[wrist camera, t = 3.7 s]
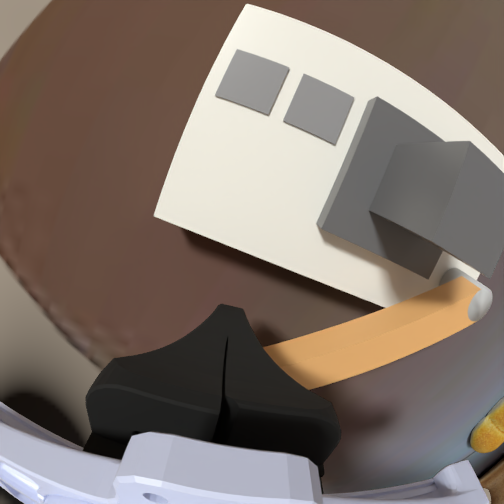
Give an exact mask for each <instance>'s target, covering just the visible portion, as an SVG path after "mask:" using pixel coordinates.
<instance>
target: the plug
mask: <svg viewBox="0 0 504 504" xmlns="http://www.w3.org/2000/svg"><path fill="white" fill-rule="evenodd" d="M316 224H317V225H318V226H319V227H320V228H321V229H322V230H325V231H327V232H329V233H331V234H334V235H336V236H338V237H340V238H343V239H345V240H347V241H349V242H351V243H353V244H356V245H358V246H360V247H362V248H364V249H366V250H368V251H371V252H373V253H375V254H377V255H379V256H381V257H383V258H385V259H387V260H389V261H392V262H394V263H396V264H398V265H400V266H402V267H404V268H406V269H408V270H410V271H412V272H414V273H416V274H418V275H420V276H422V277H424V278H426V279H428V280H429V278H430V276H431V274H432V272H433V270H434V268H435V266H436V264H437V262H438V260H439V258H440V256H441V254H442V252H443V251H444V252H446V253H448V254H449V255H451V256H453V257H455V258H456V259H458V260H460V261H461V262H463V263H465V264H466V265H468V266H470V267H471V268H473V269H475V270H476V271H478V272H480V273H481V274H483V275H484V276H486V277H488V278H489V279H490V278H491V276H492V274H493V271H494V269H495V267H496V265H497V263H498V261H499V258H500V256H501V254H502V251H503V249H504V173H503V172H502V171H501V170H500V169H499V168H498V167H497V166H496V165H495V164H494V163H493V162H492V161H491V160H490V159H489V158H488V157H487V156H486V155H485V154H484V153H483V152H482V151H481V150H480V149H478V148H477V147H476V146H475V145H474V144H473V143H472V142H471V141H448V142H445V141H444V140H442V139H441V138H440V137H438V136H437V135H436V134H434V133H433V132H432V131H430V130H429V129H427V128H426V127H425V126H423V125H422V124H420V123H419V122H417V121H416V120H414V119H413V118H412V117H410V116H408V115H407V114H405V113H404V112H402V111H401V110H399V109H398V108H396V107H394V106H393V105H391V104H390V103H388V102H386V101H385V100H383V99H381V98H379V97H378V96H377V97H375V98H373V99H371V100H369V101H368V102H367V105H366V107H365V110H364V112H363V115H362V117H361V120H360V122H359V125H358V127H357V130H356V132H355V135H354V137H353V140H352V142H351V144H350V147H349V149H348V152H347V154H346V156H345V159H344V161H343V163H342V166H341V168H340V170H339V173H338V175H337V177H336V180H335V182H334V184H333V187H332V189H331V191H330V193H329V196H328V198H327V200H326V202H325V205H324V207H323V209H322V211H321V213H320V216H319V218H318V220H317V222H316Z"/></svg>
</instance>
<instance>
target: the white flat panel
mask: <svg viewBox="0 0 504 504" xmlns="http://www.w3.org/2000/svg"><path fill="white" fill-rule="evenodd" d="M377 96H378V97H379V98H381V99H383V100H385V101H386V102H388V103H390V104H391V105H393V106H394V107H396V108H398V109H399V110H401V111H402V112H404V113H405V114H407V115H408V116H410V117H412V118H413V119H414V120H416V121H417V122H419V123H420V124H422V125H423V126H425V127H426V128H427V129H429V130H430V131H432V132H433V133H434V134H436V135H437V136H438V137H440V138H441V139H442V140H444V141H445V142H448V141H471V142H472V143H473V144H474V145H475V146H476V147H477V148H478V149H480V150H481V151H482V152H483V153H484V154H485V155H486V156H487V157H488V158H489V159H490V160H491V161H492V162H493V163H494V164H495V165H496V166H497V167H498V168H499V169H500V170H501V171H502V172H503V173H504V156H503V155H502V154H501V153H500V151H499V150H498V149H497V148H496V147H495V146H494V145H493V144H492V143H491V142H490V141H489V140H487V139H486V138H485V137H484V136H483V135H482V134H481V133H480V132H479V131H478V130H477V129H476V128H475V127H473V126H472V125H471V124H470V123H469V122H468V121H467V120H466V119H464V118H463V117H462V116H461V115H460V114H458V113H457V112H456V111H455V110H454V109H452V108H451V107H450V106H449V105H447V104H446V103H445V102H443V101H442V100H441V99H440V98H438V97H437V96H436V95H434V94H433V93H431V92H430V91H429V90H427V89H426V88H425V87H423V86H422V85H420V84H419V83H417V82H416V81H414V80H413V79H411V78H410V77H408V76H407V75H405V74H404V73H402V72H401V71H399V70H397V69H396V68H394V67H393V66H391V65H389V64H388V63H386V62H384V61H383V60H381V59H379V58H377V57H376V56H374V55H372V54H370V53H368V52H366V51H365V50H363V49H361V48H359V47H357V46H355V45H353V44H351V43H349V42H347V41H345V40H343V39H341V38H339V37H337V36H334V35H332V34H330V33H328V32H325V31H323V30H321V29H318V28H316V27H314V26H311V25H309V24H306V23H304V22H301V21H299V20H296V19H293V18H290V17H288V16H285V15H282V14H279V13H276V12H273V11H270V10H267V9H263V8H260V7H257V6H253V5H249V4H246V5H245V7H244V9H243V10H242V12H241V14H240V16H239V17H238V19H237V21H236V23H235V25H234V26H233V28H232V30H231V32H230V34H229V36H228V38H227V39H226V41H225V43H224V45H223V47H222V49H221V51H220V53H219V55H218V57H217V59H216V61H215V63H214V65H213V67H212V69H211V71H210V73H209V75H208V77H207V80H206V82H205V84H204V86H203V88H202V90H201V93H200V95H199V97H198V99H197V102H196V104H195V106H194V109H193V111H192V113H191V116H190V118H189V120H188V123H187V125H186V128H185V130H184V133H183V135H182V138H181V140H180V143H179V145H178V148H177V150H176V153H175V156H174V158H173V161H172V164H171V166H170V169H169V172H168V175H167V178H166V180H165V183H164V186H163V189H162V192H161V195H160V198H159V201H158V204H157V207H156V210H155V213H154V216H155V217H157V218H160V219H162V220H165V221H167V222H170V223H172V224H175V225H177V226H180V227H182V228H185V229H187V230H190V231H192V232H195V233H197V234H200V235H203V236H205V237H208V238H210V239H213V240H215V241H218V242H220V243H223V244H225V245H228V246H230V247H233V248H235V249H238V250H240V251H243V252H245V253H248V254H250V255H253V256H255V257H258V258H260V259H263V260H266V261H268V262H271V263H273V264H276V265H278V266H281V267H283V268H286V269H288V270H291V271H293V272H296V273H298V274H301V275H303V276H306V277H309V278H311V279H314V280H316V281H319V282H321V283H324V284H326V285H329V286H331V287H334V288H336V289H339V290H342V291H344V292H347V293H349V294H352V295H354V296H357V297H359V298H362V299H364V300H367V301H370V302H372V303H375V304H377V305H380V306H382V307H385V308H387V307H390V306H392V305H395V304H397V303H400V302H402V301H405V300H407V299H410V298H412V297H415V296H417V295H420V294H422V293H424V292H427V291H429V290H431V289H434V288H436V287H438V286H439V284H440V280H441V278H442V276H443V275H444V273H445V272H446V271H447V270H449V269H451V268H458V269H460V270H461V271H463V272H464V273H466V274H468V275H469V276H471V277H472V278H474V279H475V280H477V278H478V276H479V274H480V272H478V271H476V270H475V269H473V268H471V267H470V266H468V265H466V264H465V263H463V262H461V261H460V260H458V259H456V258H455V257H453V256H451V255H449V254H448V253H446V252H444V251H443V252H442V254H441V256H440V258H439V260H438V262H437V264H436V266H435V268H434V270H433V272H432V274H431V276H430V278H429V280H428V279H426V278H424V277H422V276H420V275H418V274H416V273H414V272H412V271H410V270H408V269H406V268H404V267H402V266H400V265H398V264H396V263H394V262H392V261H389V260H387V259H385V258H383V257H381V256H379V255H377V254H375V253H373V252H371V251H368V250H366V249H364V248H362V247H360V246H358V245H356V244H353V243H351V242H349V241H347V240H345V239H343V238H340V237H338V236H336V235H334V234H331V233H329V232H327V231H325V230H322V229H321V228H320V227H319V226H318V225H317V224H316V222H317V220H318V218H319V216H320V213H321V211H322V209H323V207H324V205H325V202H326V200H327V198H328V196H329V193H330V191H331V189H332V187H333V184H334V182H335V180H336V177H337V175H338V173H339V170H340V168H341V166H342V163H343V161H344V159H345V156H346V154H347V152H348V149H349V147H350V144H351V142H352V140H353V137H354V135H355V132H356V130H357V127H358V125H359V122H360V120H361V117H362V115H363V112H364V110H365V107H366V105H367V102H368V101H369V100H371V99H373V98H375V97H377Z"/></svg>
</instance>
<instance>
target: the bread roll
mask: <svg viewBox="0 0 504 504" xmlns="http://www.w3.org/2000/svg"><path fill="white" fill-rule="evenodd" d="M503 442H504V397H503V398H501V399H500V400H499V401H498V402H497V403H496V404H495V406H494V407H493V408H492V409H491V410H490V411H489V413H488V414H487V416H486V417H484V418H483V419H482V420H481V421H480V422H479V423H478V424H477V425H476V426H475V427H474V429H473V431H472V434H471V440H470V444H471V447H472V448H473V449H474V450H475V451H477V452H479V453H488V452H491V451H493V450H495V449H497V448H498V447H499V446H500V445H501V444H502V443H503Z"/></svg>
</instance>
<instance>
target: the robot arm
mask: <svg viewBox="0 0 504 504" xmlns="http://www.w3.org/2000/svg"><path fill="white" fill-rule="evenodd" d="M86 408H87V413H88V417H89V422H90V425H91V430H92V433H91V435H90V437H89V439H88V441H87V443H86V445H85V447H84V448H82V447H80V446H78V445H76V444H73V443H71V442H69V441H67V440H65V439H63V438H61V437H59V436H57V435H55V434H53V433H51V432H49V431H47V430H46V429H44V428H42V427H40V426H38V425H37V424H35V423H33V422H31V421H30V420H28V419H26V418H25V417H23V416H22V415H20V414H18V413H17V412H15V411H14V410H12V409H11V408H9V407H8V406H6V405H4V404H3V403H2V402H0V486H1V487H2V488H4V489H5V490H6V491H8V492H9V493H10V494H12V495H13V496H14V497H16V498H17V499H19V500H20V501H22V502H23V503H24V504H489V500H488V498H487V496H486V494H485V492H484V490H483V488H482V486H481V484H480V482H479V480H478V478H477V476H476V474H475V472H474V470H473V468H472V466H471V464H470V463H469V461H468V460H464V461H460V462H457V463H454V464H450V465H448V466H446V467H444V468H443V469H442V470H440V471H439V472H438V473H437V474H436V475H435V476H434V478H432V479H428V480H424V481H420V482H415V483H411V484H406V485H401V486H395V487H389V488H383V489H376V490H369V491H360V492H350V493H336V494H323V488H322V482H321V477H322V476H323V475H324V467H323V463H324V462H325V460H326V459H327V458H328V457H329V455H330V454H331V453H332V451H333V450H334V449H335V448H336V446H337V445H338V443H339V441H340V439H341V429H340V426H339V422H338V418H337V415H336V413H335V410H334V408H333V405H332V403H331V402H329V401H327V400H325V399H324V398H322V397H320V396H318V395H316V394H314V393H313V392H311V391H309V390H308V389H306V388H305V387H303V386H302V385H301V384H299V383H298V382H296V381H295V380H294V379H293V378H291V377H290V376H289V375H288V374H287V373H286V372H284V371H283V370H282V369H281V368H280V367H279V366H278V365H277V364H276V363H275V362H274V361H273V360H272V358H271V357H270V356H269V355H268V354H267V353H266V351H265V350H264V348H263V347H262V346H261V344H260V343H259V341H258V339H257V338H256V336H255V334H254V332H253V330H252V328H251V326H250V324H249V322H248V320H247V318H246V315H245V312H244V310H243V309H242V308H238V307H233V306H229V305H224V304H220V305H218V306H217V308H216V309H215V311H214V312H213V313H212V314H211V315H210V316H209V317H208V318H207V319H206V320H205V321H204V322H203V323H202V324H201V325H199V326H198V327H197V328H196V329H194V330H193V331H192V332H190V333H189V334H187V335H186V336H184V337H183V338H181V339H179V340H178V341H176V342H174V343H172V344H170V345H167V346H165V347H163V348H160V349H157V350H154V351H151V352H147V353H143V354H139V355H134V356H127V357H120V358H114V359H112V361H111V362H110V363H109V364H108V365H107V366H106V367H105V368H104V369H103V370H102V371H101V373H100V374H99V375H98V377H97V378H96V380H95V381H94V383H93V384H92V386H91V388H90V389H89V391H88V393H87V395H86Z"/></svg>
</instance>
